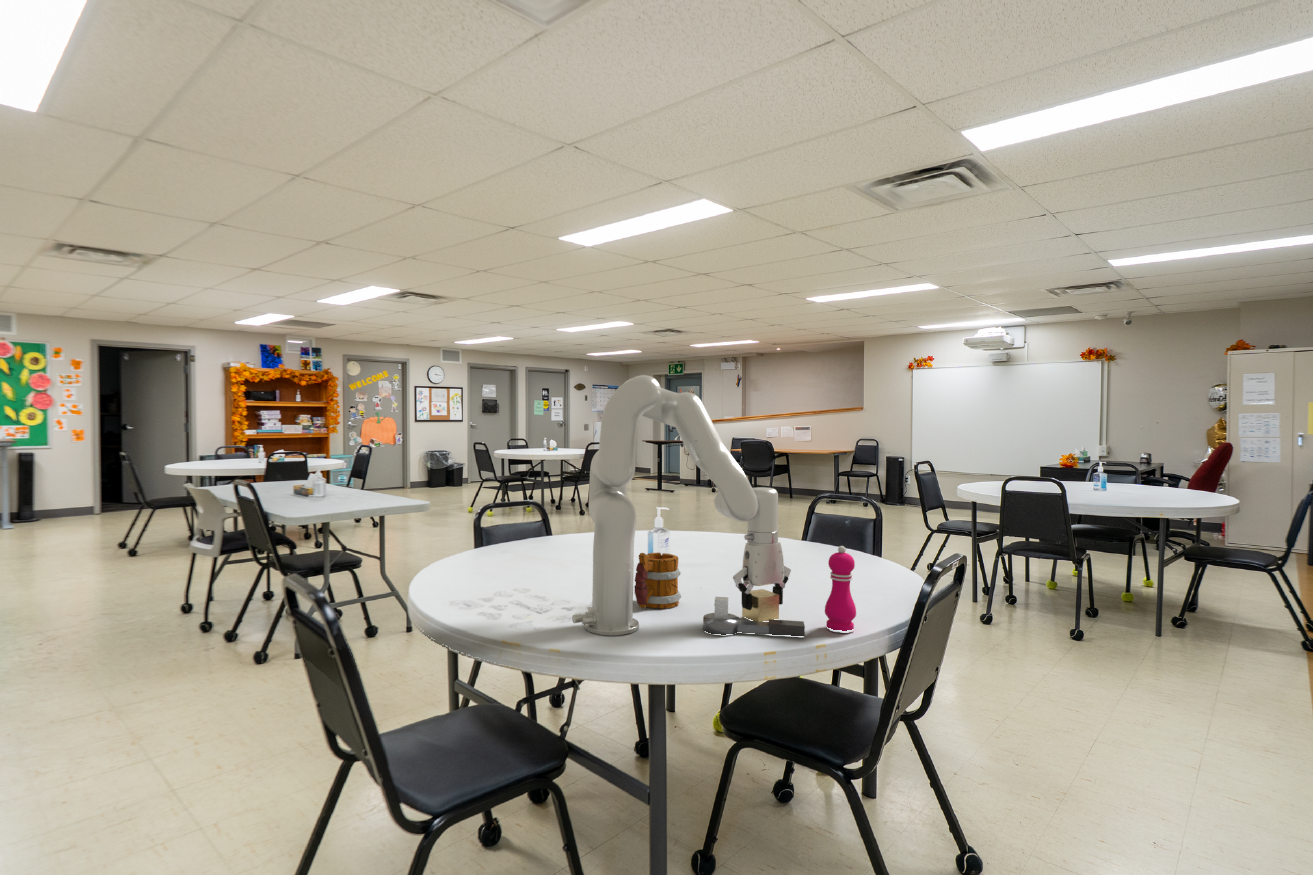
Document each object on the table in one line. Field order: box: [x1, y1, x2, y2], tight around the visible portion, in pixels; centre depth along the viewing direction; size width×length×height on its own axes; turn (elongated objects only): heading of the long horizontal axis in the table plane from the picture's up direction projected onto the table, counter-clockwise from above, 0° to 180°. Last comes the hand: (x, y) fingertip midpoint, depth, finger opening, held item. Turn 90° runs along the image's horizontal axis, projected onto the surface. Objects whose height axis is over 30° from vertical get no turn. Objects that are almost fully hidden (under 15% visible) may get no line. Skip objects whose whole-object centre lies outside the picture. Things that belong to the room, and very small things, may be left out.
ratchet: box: [702, 596, 806, 637], centre depth 150 cm, size 23×8×8 cm, turn 81°
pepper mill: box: [824, 545, 857, 631], centre depth 154 cm, size 7×7×20 cm
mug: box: [633, 552, 682, 610], centre depth 171 cm, size 11×16×15 cm, turn 146°
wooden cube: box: [741, 588, 780, 622], centre depth 161 cm, size 6×6×6 cm
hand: (762, 605), depth 161 cm, fingers open, 9 cm apart
